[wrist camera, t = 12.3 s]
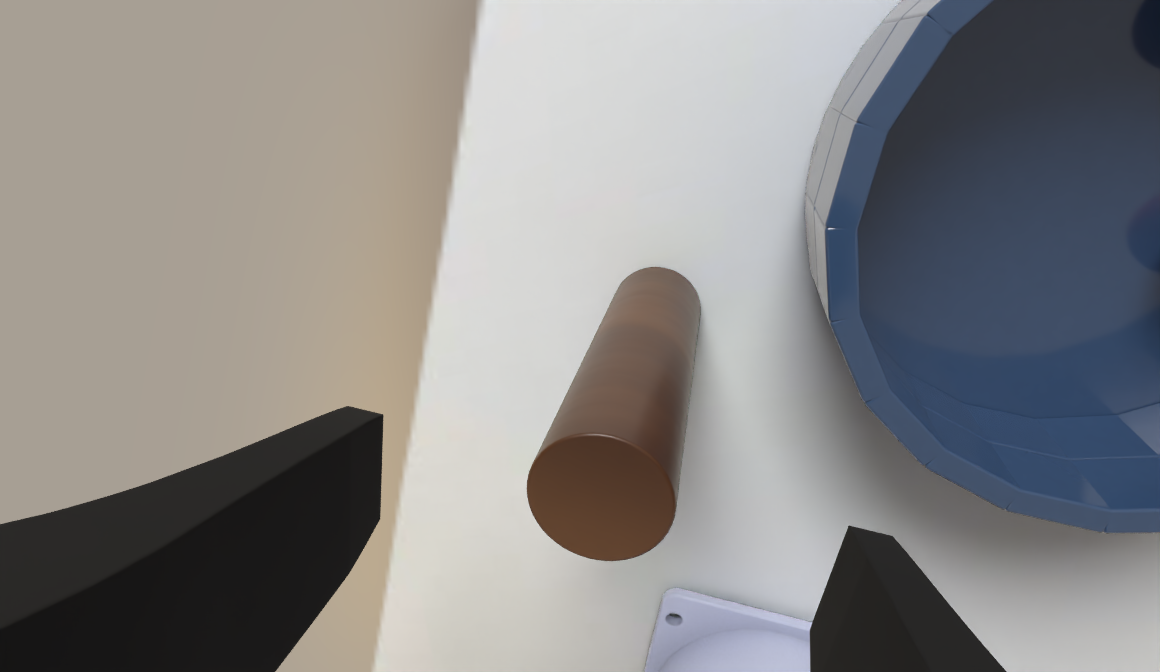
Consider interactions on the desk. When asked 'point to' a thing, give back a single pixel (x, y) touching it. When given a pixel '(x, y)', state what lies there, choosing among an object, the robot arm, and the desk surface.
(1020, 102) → the bowl
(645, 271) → the stirring stick
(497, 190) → the desk surface
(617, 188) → the desk surface
